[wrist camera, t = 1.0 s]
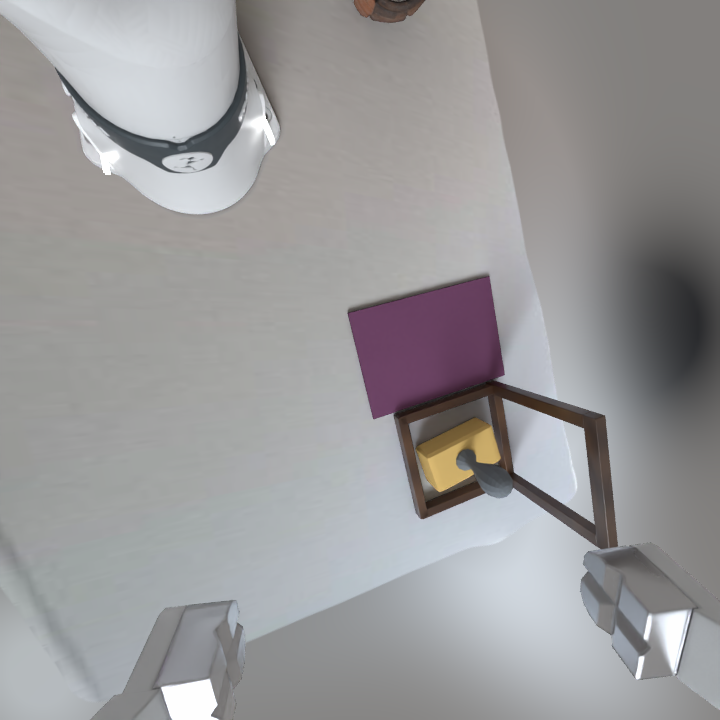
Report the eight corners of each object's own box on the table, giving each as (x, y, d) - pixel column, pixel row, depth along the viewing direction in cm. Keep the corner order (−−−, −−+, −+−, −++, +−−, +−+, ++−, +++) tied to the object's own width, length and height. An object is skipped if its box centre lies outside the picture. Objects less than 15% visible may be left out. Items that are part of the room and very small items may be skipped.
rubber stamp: (427, 481, 51) (476, 532, 40) (414, 446, 50) (462, 488, 38) (486, 450, 53) (549, 490, 42) (475, 415, 52) (538, 447, 40)
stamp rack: (393, 413, 48) (466, 470, 31) (492, 379, 52) (605, 415, 35) (416, 514, 51) (493, 615, 35) (508, 476, 55) (618, 551, 38)
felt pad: (347, 313, 45) (348, 313, 44) (487, 276, 49) (489, 276, 49) (373, 418, 47) (373, 419, 47) (503, 374, 52) (504, 375, 52)
